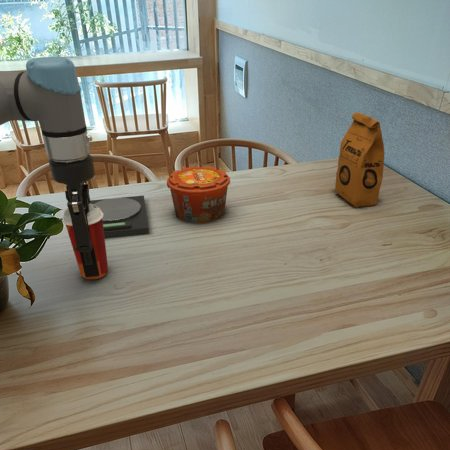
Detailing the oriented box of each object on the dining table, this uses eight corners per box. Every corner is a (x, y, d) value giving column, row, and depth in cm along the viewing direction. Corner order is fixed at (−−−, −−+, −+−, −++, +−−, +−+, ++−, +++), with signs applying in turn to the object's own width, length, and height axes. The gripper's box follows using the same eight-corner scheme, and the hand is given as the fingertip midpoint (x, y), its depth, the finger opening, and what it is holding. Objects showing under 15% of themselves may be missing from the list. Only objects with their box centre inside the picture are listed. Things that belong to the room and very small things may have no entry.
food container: (241, 219, 116) (241, 179, 110) (185, 234, 110) (182, 193, 103) (212, 198, 127) (211, 161, 121) (160, 210, 121) (156, 172, 115)
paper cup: (100, 258, 98) (89, 199, 90) (120, 272, 94) (110, 210, 86) (68, 272, 94) (52, 210, 86) (87, 287, 90) (73, 223, 81)
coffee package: (349, 210, 119) (362, 124, 106) (329, 192, 129) (339, 112, 116) (383, 206, 121) (400, 121, 108) (361, 189, 131) (374, 109, 118)
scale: (82, 244, 107) (79, 231, 105) (86, 209, 123) (83, 197, 121) (149, 236, 109) (147, 224, 107) (144, 203, 125) (143, 192, 123)
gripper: (89, 174, 72) (111, 290, 86) (93, 138, 88) (111, 242, 101) (41, 177, 71) (70, 295, 85) (53, 141, 87) (77, 245, 100)
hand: (93, 266), depth 93 cm, fingers closed on paper cup, 7 cm apart
